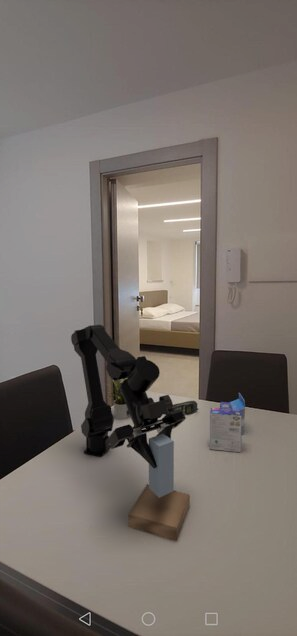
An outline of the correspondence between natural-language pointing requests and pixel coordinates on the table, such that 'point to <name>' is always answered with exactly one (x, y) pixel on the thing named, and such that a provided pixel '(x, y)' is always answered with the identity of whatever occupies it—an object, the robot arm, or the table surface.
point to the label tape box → (239, 405)
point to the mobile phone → (185, 407)
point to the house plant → (119, 403)
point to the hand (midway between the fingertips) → (163, 464)
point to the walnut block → (160, 513)
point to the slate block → (162, 465)
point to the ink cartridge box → (225, 428)
